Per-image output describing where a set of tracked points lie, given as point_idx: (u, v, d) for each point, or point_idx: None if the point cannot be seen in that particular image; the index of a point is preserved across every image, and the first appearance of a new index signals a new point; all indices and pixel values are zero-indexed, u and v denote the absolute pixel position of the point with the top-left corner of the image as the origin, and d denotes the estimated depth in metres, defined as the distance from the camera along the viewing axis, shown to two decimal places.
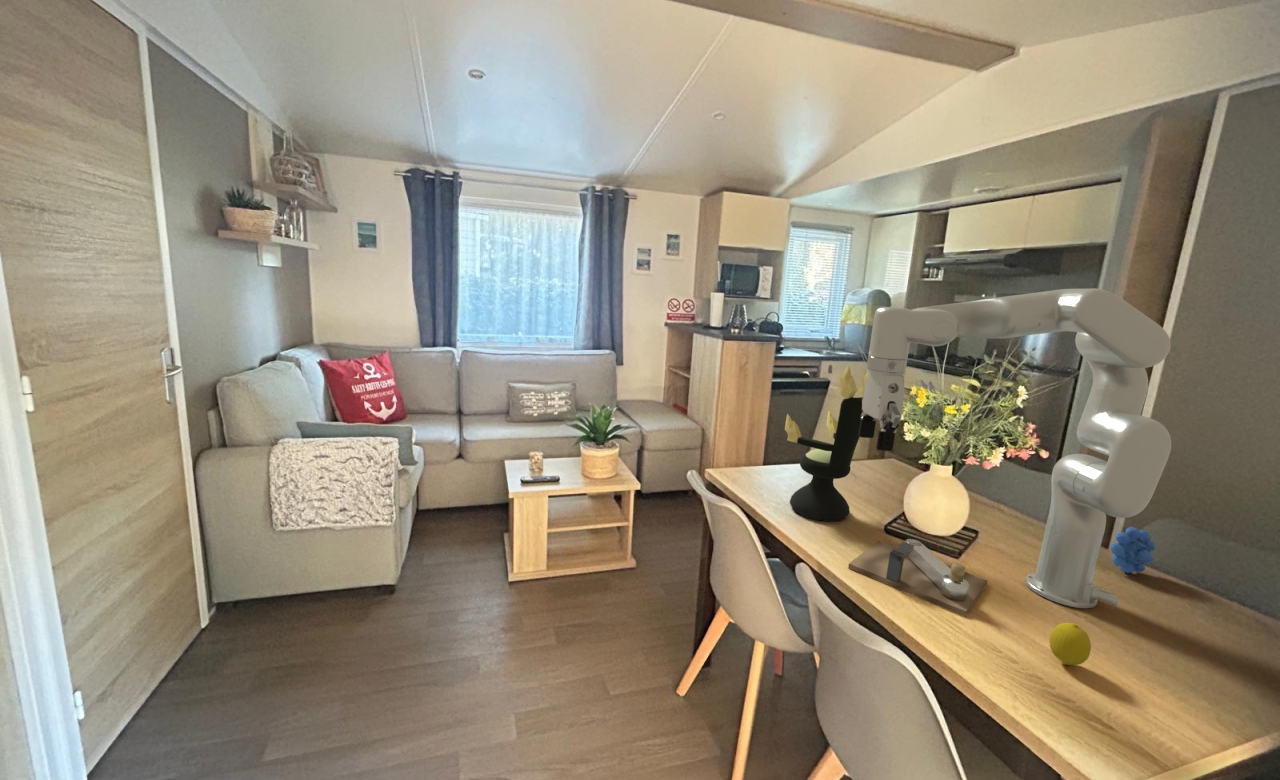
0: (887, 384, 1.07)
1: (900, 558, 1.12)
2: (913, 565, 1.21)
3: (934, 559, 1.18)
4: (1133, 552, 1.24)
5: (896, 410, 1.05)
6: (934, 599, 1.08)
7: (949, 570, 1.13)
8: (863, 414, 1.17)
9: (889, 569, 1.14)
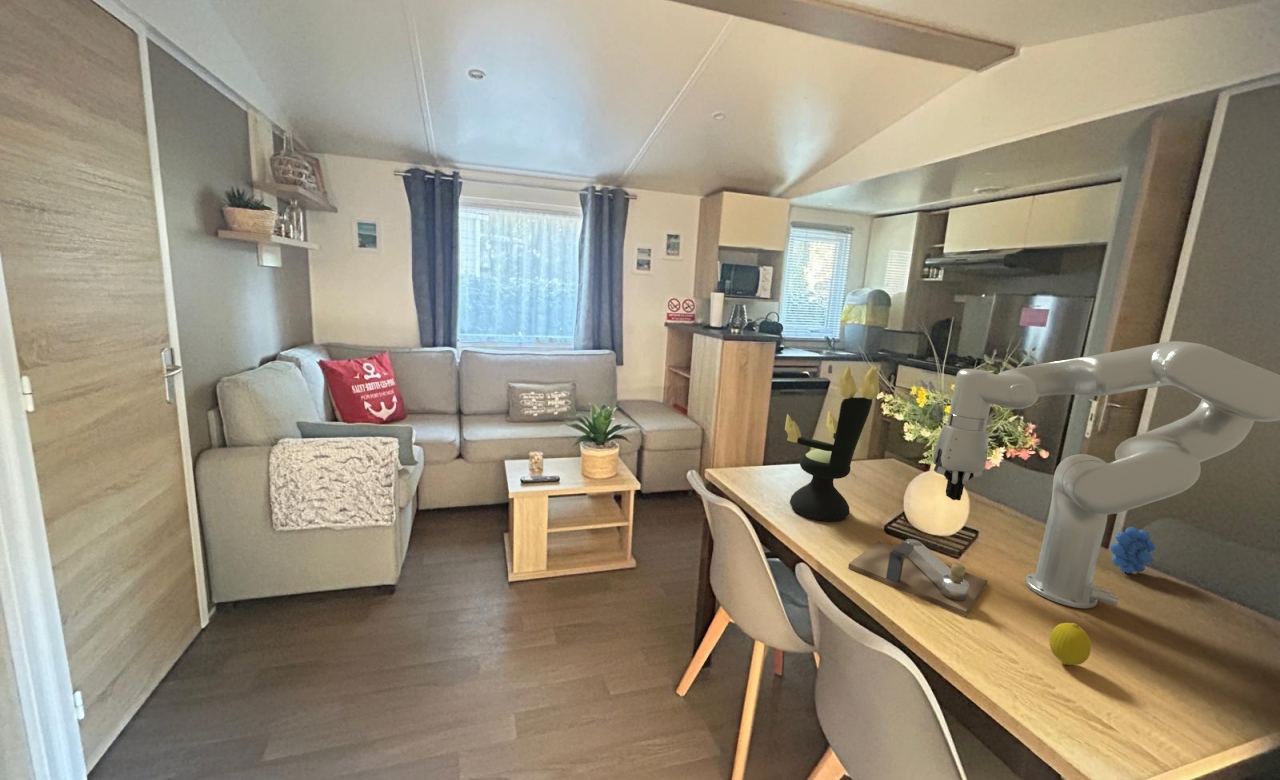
0: None
1: (900, 558, 1.12)
2: (913, 565, 1.21)
3: (934, 559, 1.18)
4: (1133, 552, 1.24)
5: None
6: (934, 599, 1.08)
7: (949, 570, 1.13)
8: (955, 477, 1.20)
9: (889, 569, 1.14)
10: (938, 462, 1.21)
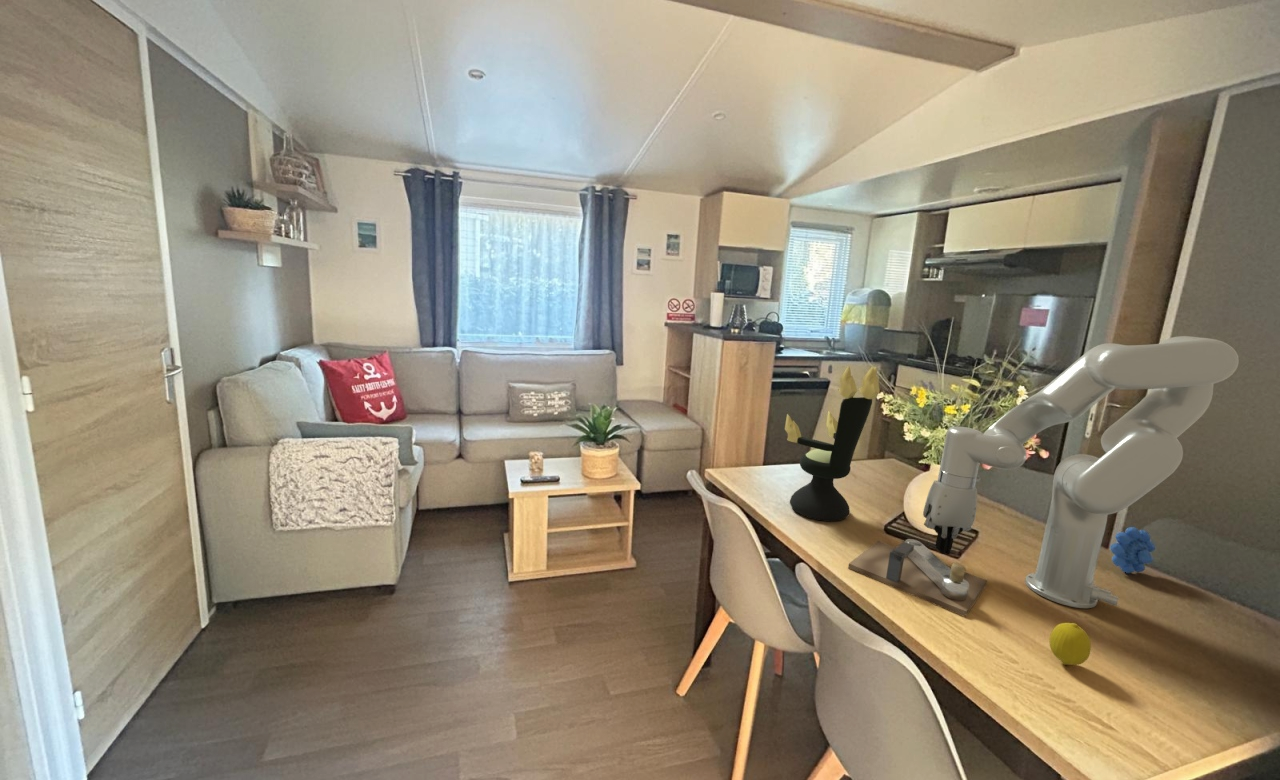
0: None
1: (900, 558, 1.12)
2: (913, 565, 1.21)
3: (934, 559, 1.18)
4: (1133, 552, 1.24)
5: None
6: (934, 599, 1.08)
7: (949, 570, 1.13)
8: (945, 531, 1.23)
9: (889, 569, 1.14)
10: (928, 517, 1.24)
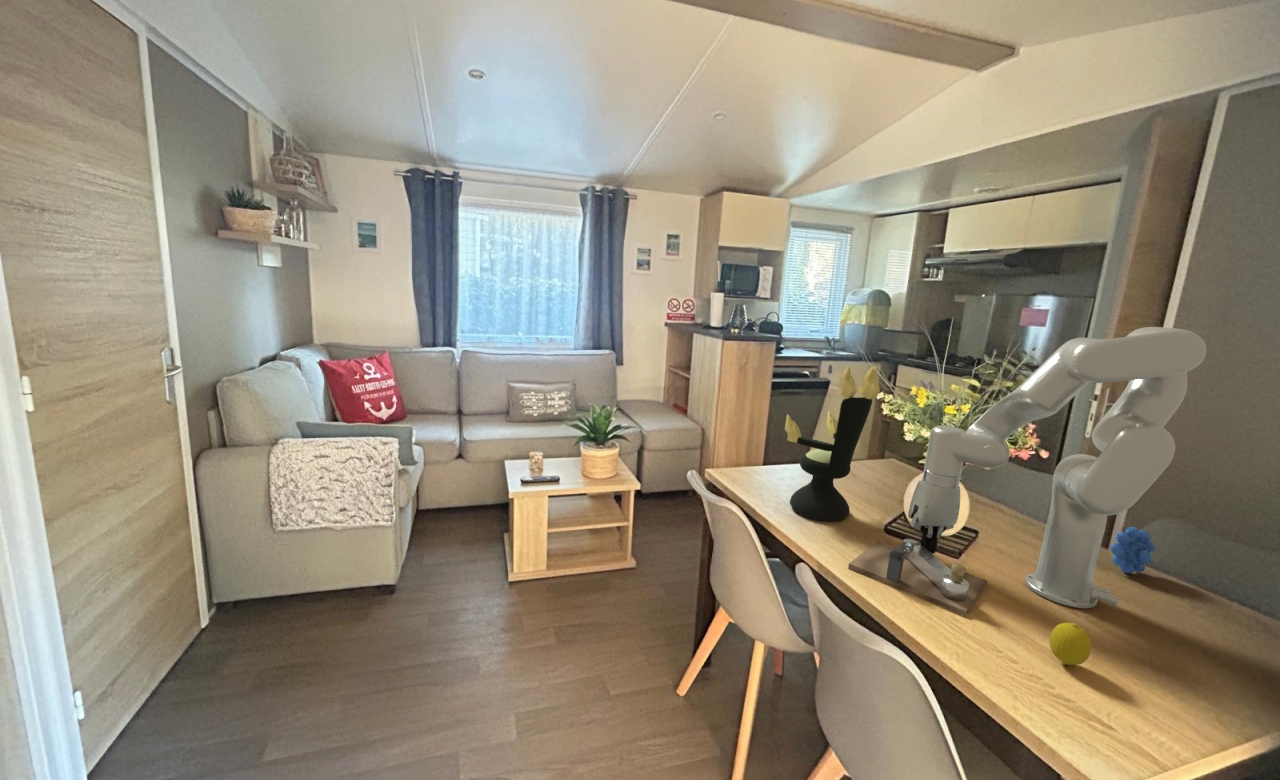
0: None
1: (900, 558, 1.12)
2: (913, 565, 1.21)
3: (933, 559, 1.18)
4: (1133, 552, 1.24)
5: None
6: (934, 599, 1.08)
7: (948, 570, 1.13)
8: (930, 531, 1.23)
9: (889, 569, 1.14)
10: (914, 517, 1.23)
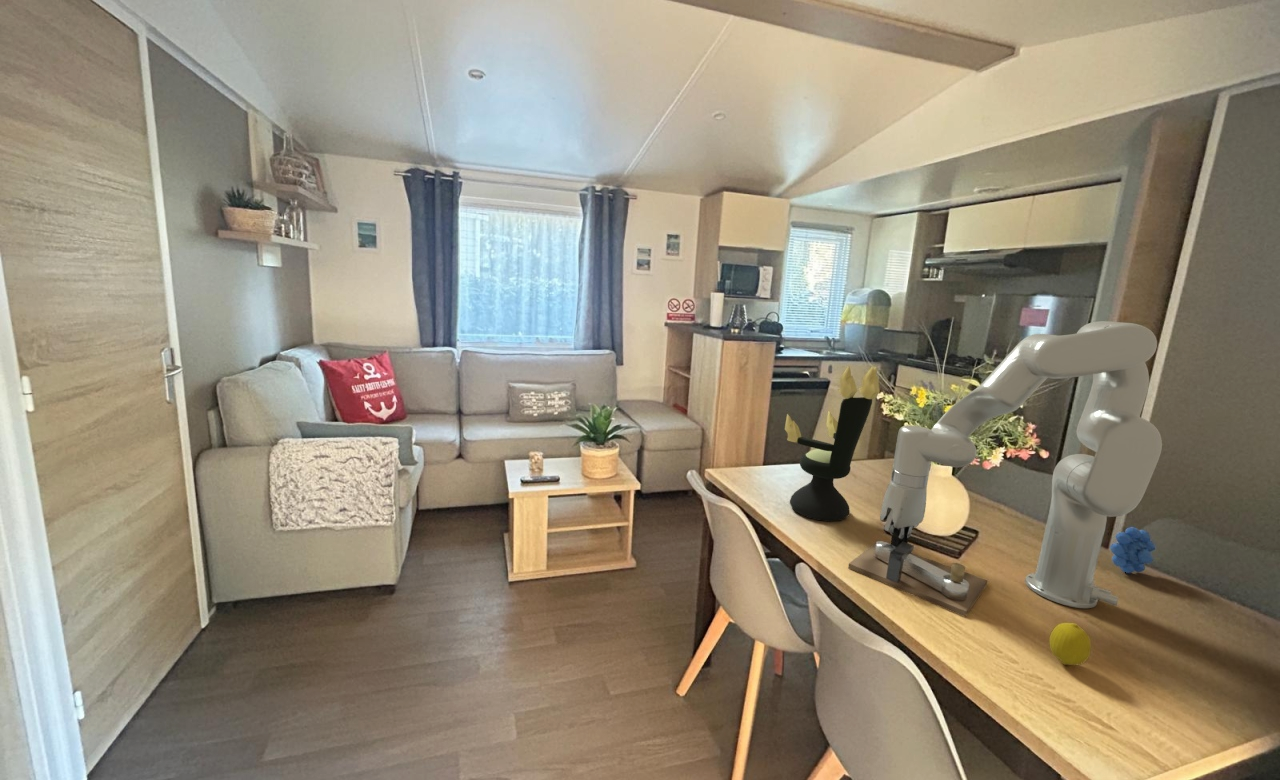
0: None
1: (900, 558, 1.12)
2: None
3: (917, 560, 1.17)
4: (1133, 552, 1.24)
5: None
6: (934, 599, 1.08)
7: (939, 569, 1.13)
8: (902, 532, 1.22)
9: (889, 569, 1.14)
10: (888, 521, 1.21)
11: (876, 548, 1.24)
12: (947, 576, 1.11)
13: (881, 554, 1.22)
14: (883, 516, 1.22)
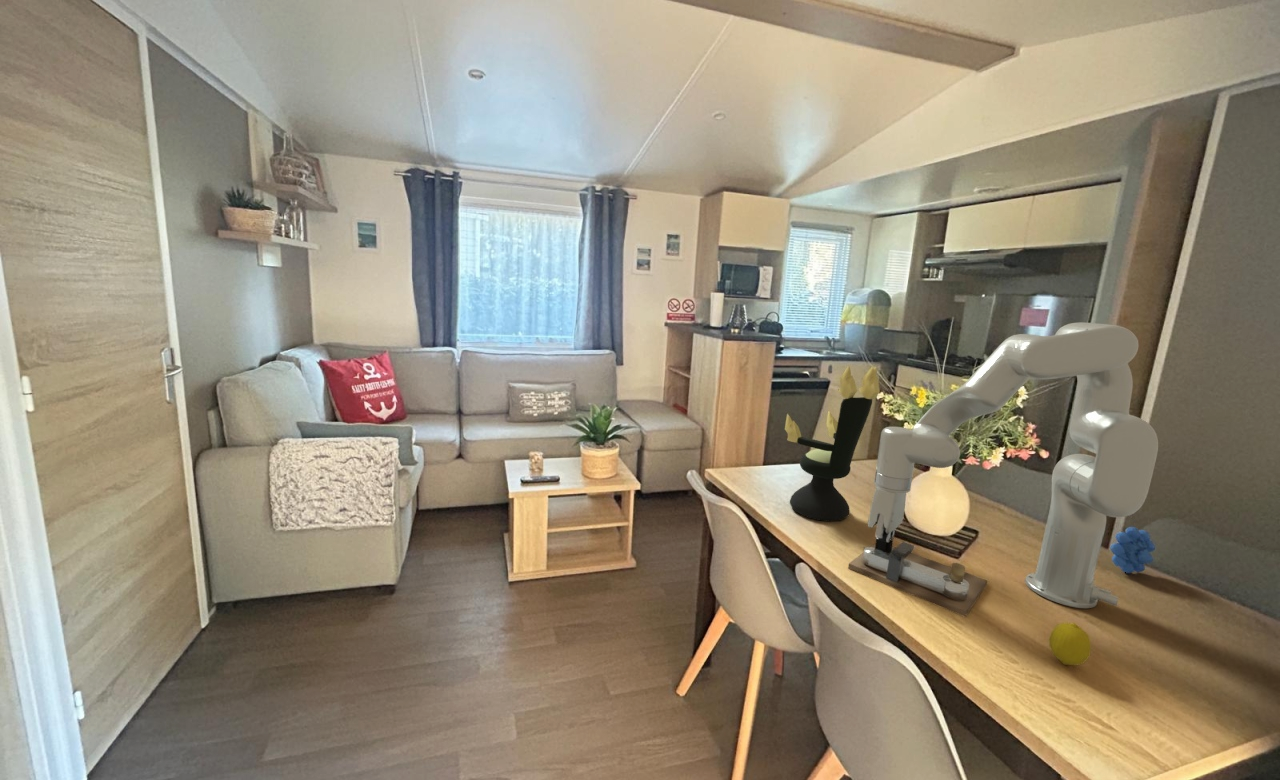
0: None
1: (900, 558, 1.12)
2: None
3: (911, 564, 1.15)
4: (1133, 552, 1.24)
5: None
6: (934, 599, 1.08)
7: (934, 570, 1.13)
8: (889, 536, 1.19)
9: (889, 569, 1.14)
10: (879, 527, 1.17)
11: (866, 555, 1.20)
12: (946, 577, 1.10)
13: (872, 561, 1.19)
14: (873, 523, 1.18)
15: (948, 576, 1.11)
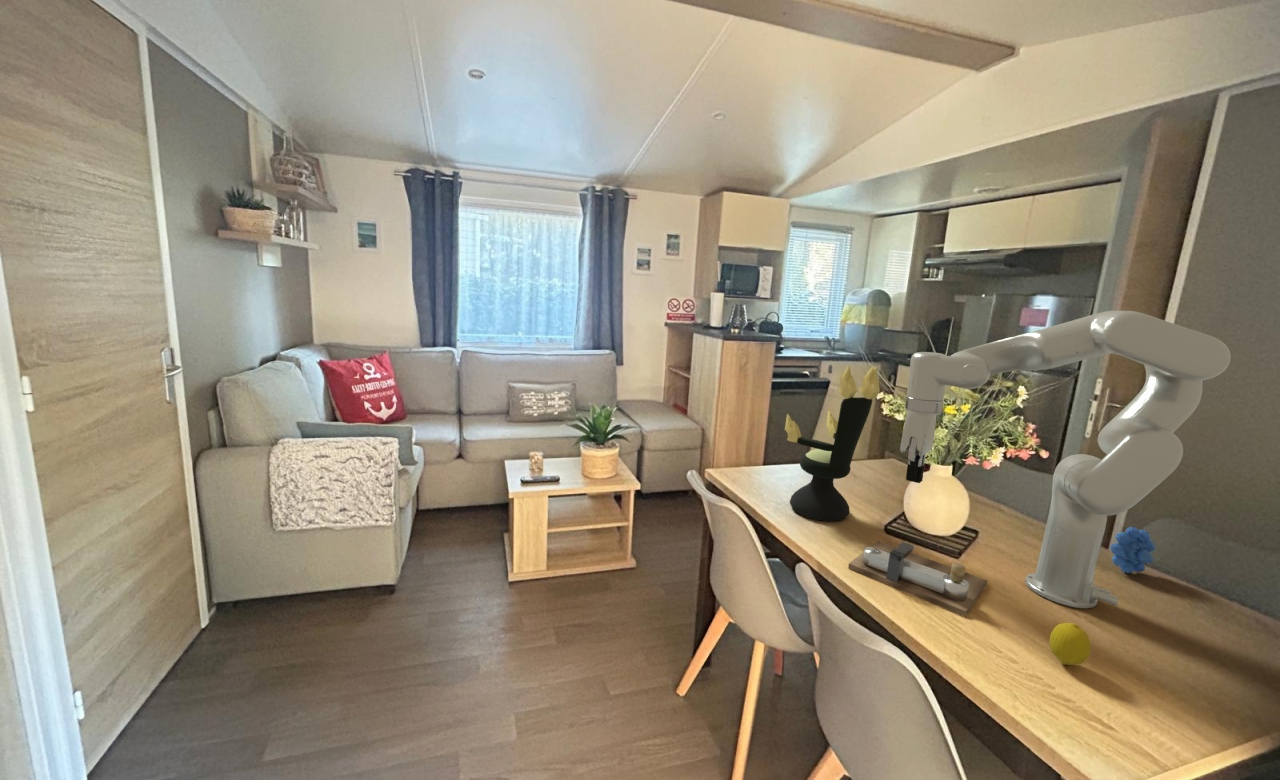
0: None
1: (900, 558, 1.12)
2: None
3: (911, 564, 1.15)
4: (1133, 552, 1.24)
5: None
6: (934, 599, 1.08)
7: (934, 570, 1.13)
8: (921, 460, 1.21)
9: (889, 569, 1.14)
10: (911, 450, 1.19)
11: (866, 555, 1.20)
12: (946, 577, 1.10)
13: (872, 561, 1.19)
14: (905, 446, 1.19)
15: (948, 576, 1.11)
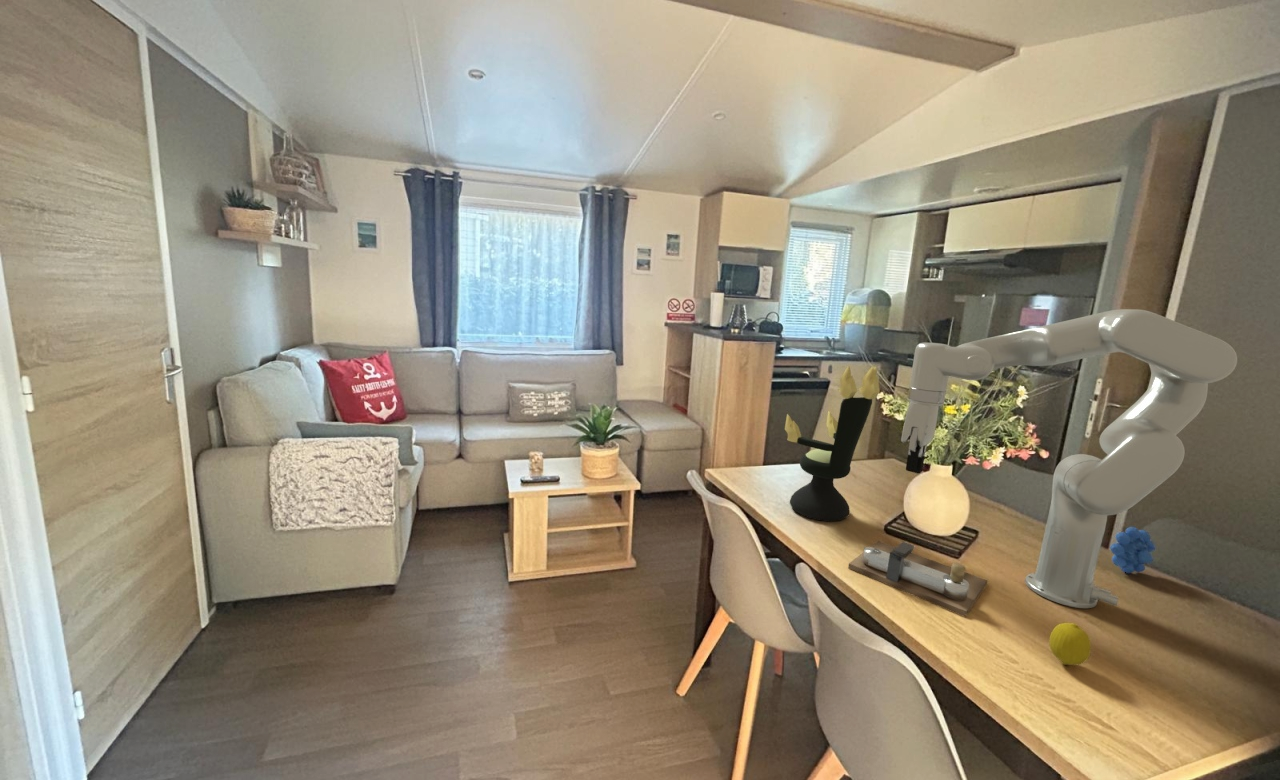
0: None
1: (900, 558, 1.12)
2: None
3: (911, 564, 1.15)
4: (1133, 552, 1.24)
5: None
6: (934, 599, 1.08)
7: (934, 570, 1.13)
8: (922, 451, 1.21)
9: (889, 569, 1.14)
10: (912, 440, 1.19)
11: (866, 555, 1.20)
12: (946, 577, 1.10)
13: (872, 561, 1.19)
14: (906, 436, 1.19)
15: (948, 576, 1.11)
